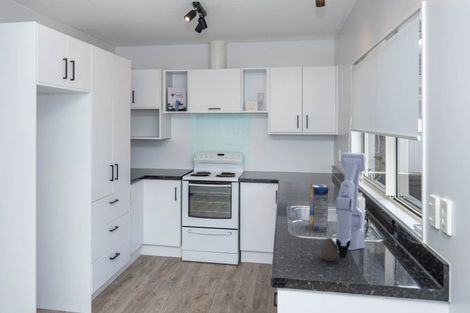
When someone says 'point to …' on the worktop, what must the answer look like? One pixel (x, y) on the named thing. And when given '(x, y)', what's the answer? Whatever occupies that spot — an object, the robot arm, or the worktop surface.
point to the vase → (328, 250)
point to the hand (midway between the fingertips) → (342, 257)
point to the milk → (361, 205)
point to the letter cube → (336, 244)
